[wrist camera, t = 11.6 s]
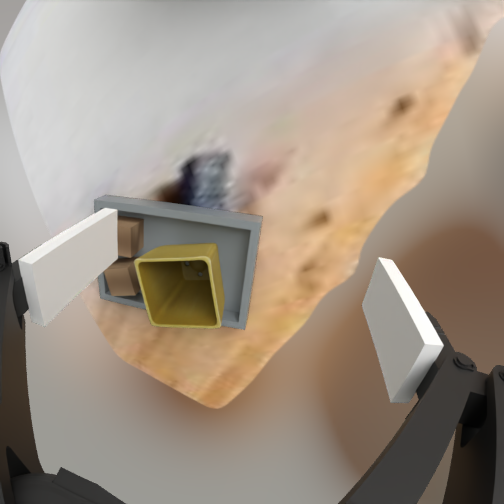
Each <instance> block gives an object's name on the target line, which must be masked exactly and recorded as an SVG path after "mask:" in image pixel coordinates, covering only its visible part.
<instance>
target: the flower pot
mask: <svg viewBox="0 0 504 504" xmlns="http://www.w3.org/2000/svg"><path fill="white" fill-rule="evenodd" d="M185 262H189V265H186V264H185ZM134 264H135V268H136V272H137V276H138V280H139V284H140V287H141V291H142V295H143V299H144V303H145V306H146V310H147V314H148V317H149V320H150V323H151V325H152V326H156V327H169V328H204V329H214V328H220V327H221V323H222V316H223V310H224V303H225V295H224V288H223V282H222V275H221V268H220V261H219V253H218V246H217V244H216V243H199V244H178V245H164V246H159V247H157V248H154V249H153V250H151V251H149V252H147V253H146V254H144V255H142V256H140V257H139V258H137V259H135V261H134ZM199 272H201V273H202V276H199Z"/></svg>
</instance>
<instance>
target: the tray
mask: <svg viewBox="0 0 504 504" xmlns="http://www.w3.org/2000/svg"><path fill="white" fill-rule="evenodd" d="M104 208H110V209H116V210H117V216H118V215H120V216H127V217H134V218H141V219H144V247H143V248H142V249H140V250H139V251H138V252H137V253H136V254H135V255H134V256H133V257H139V256H142V255H144V254H146V253H147V252H149V251H151V250H153V249H154V248H157V247H159V246H164V245H178V244H199V243H216V244H217V246H218V253H219V261H220V268H221V275H222V282H223V288H224V295H225V303H224V310H223V316H222V323H221V326H227V327H232V328H238V329H243V330H245V327H246V323H247V318H248V312H249V305H250V299H251V292H252V286H253V279H254V272H255V266H256V259H257V252H258V246H259V239H260V232H261V226H262V219H263V216H257V215H251V214H244V213H238V212H231V211H225V210H218V209H211V208H204V207H197V206H190V205H183V204H175V203H168V202H160V201H153V200H145V199H137V198H128V197H120V196H112V195H104V196H102V197H99V198H97V199H95V200H94V210H95V213H96V212H98V211H100V210H102V209H104ZM118 258H127V257H124V256H119V255H118ZM185 264H186V265H189V262H185ZM199 276H202V273H201V272H199ZM98 281H99V291H100V298H101V299H105V300H109V301H113V302H117V303H121V304H125V305H129V306H133V307H137V308H141V309H145V310H146V306H145V303H144V299H143V295H142V291H141V289H140V291H139V292H138V293H137V294H136V295H129V296H111V293H110V290H109V287H108V283H107V280H106V277H105V274H104V271H103V272H102V273H101V274H100V275H99V276H98Z"/></svg>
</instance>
